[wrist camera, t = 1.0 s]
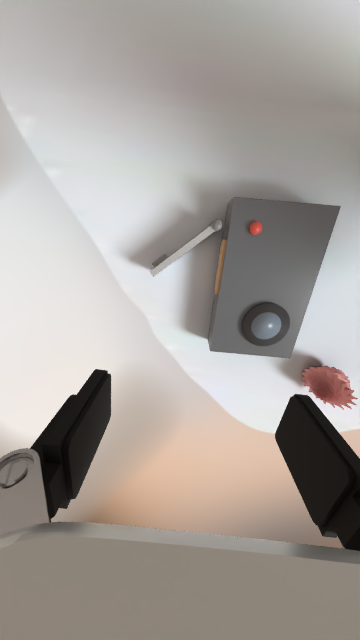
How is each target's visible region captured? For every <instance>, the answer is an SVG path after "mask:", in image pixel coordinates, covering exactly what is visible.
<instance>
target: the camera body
mask: <svg viewBox="0 0 360 640" xmlns="http://www.w3.org/2000/svg"><path fill="white" fill-rule="evenodd" d="M340 207H341V206H332V205H321V204H309V203H297V202H286V201H274V200H262V199H251V198H239V197H234V198H233V199H232V200H231V201H230V202H229V203H228V207H227V214H226V221H225V228H224V234H223V240H221V247H220V253H219V260H218V267H217V274H216V281H215V288H214V292H215V295H214V302H213V308H212V315H211V322H210V329H209V335H208V343H209V347H210V351H215V352H226V353H237V354H248V355H259V356H270V357H281V358H290V357H291V354H292V351H293V348H294V345H295V342H296V339H297V336H298V333H299V330H300V327H301V324H302V321H303V318H304V315H305V312H306V309H307V306H308V303H309V300H310V297H311V294H312V291H313V288H314V285H315V282H316V279H317V276H318V273H319V270H320V267H321V264H322V261H323V258H324V255H325V252H326V249H327V246H328V243H329V240H330V237H331V234H332V231H333V228H334V225H335V222H336V219H337V216H338V213H339V210H340Z"/></svg>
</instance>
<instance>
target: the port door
mask: <svg viewBox="0 0 360 640" xmlns="http://www.w3.org/2000/svg"><path fill="white" fill-rule="evenodd" d="M221 228H222V222H221V220H218V219H217V220H215V221H213V222H212V223H211V224H210V226H209V227H208V228H207V229H206V230H204V231H203V232H202V233H200V234H199V235H198V236H196V237H195V238H194V239H192V240H191V241H190V242H188V243H187V244H186V245H184V246H183V247H182V248H180V249H179V250H178V251H176V252H175V253H174V254H172V255H171V256H170V257H167V255H166V254H165V255H163V256H162V257H161V258H159V259H158V260H157V261H155V262H154V263H153V264H152V265H153V266H154V269H153V270H151V271H150V273H151V274H152V275H153V277H154V276H155V275H156V274H158V273H159V272H160V271H162V270H163V269H165V268H166V267H167V266H169V265H170V264H171V263H173V262H174V261H175V260H177V259H178V258H179V257H181V256H182V255H183V254H185V253H186V252H187V251H189V250H190V249H192V248H193V247H194V246H196V245H197V244H198V243H200V242H201V241H202V240H204V239H205V238H206V237H208V236H209V235H210V234H212V233H213V232H216V231H218V230H220V229H221Z"/></svg>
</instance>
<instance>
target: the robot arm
mask: <svg viewBox="0 0 360 640" xmlns="http://www.w3.org/2000/svg"><path fill="white" fill-rule="evenodd" d="M110 416H111V374H108V372H107V371H105V370H98V369H96V370H94V371H93V373H92V374H91V376H90V377H89V378H88V380H87V381H86V383H85V384H84V385H83V387H82V388H81V390H80V391H79V392H78V394H77V395H71V396H70V397H69V398H68V399H67V400H66V402H65V403H64V404H63V406H62V407H61V409H60V410H59V411H58V412H57V414H56V415H55V417H54V418H53V419H52V420H51V422H50V423H49V424H48V426H47V427H46V428H45V430H44V431H43V432H42V433H41V435H40V436H39V438H38V439H37V440H36V441H35V443H34V444H33V446H32V447H31V448H30V449H28V448H26V449H18V450H15V451H12V452H10V453H8V454H6V455H4V456H3V457H1V458H0V640H360V459H359V457H358V456H357V455H356V454H355V452H354V451H353V450H352V449H351V447H350V446H349V445H348V444H347V442H346V441H345V440H344V439H343V437H342V436H341V435H340V434H339V433H338V431H337V430H336V429H335V428H334V426H333V425H332V424H331V423H330V421H329V420H328V419H327V418H326V416H325V415H324V414H323V413H322V412H321V410H320V409H319V408H318V407H317V405H316V404H315V403H314V402H313V400H312V399H311V398H310V397H309V396H307V395H300V394H295V395H294V396H293V397H291V398H290V400H289V402H288V405H287V407H286V409H285V412H284V414H283V417H282V419H281V421H280V424H279V426H278V428H277V431H276V433H275V439H276V442H277V444H278V446H279V448H280V451H281V453H282V455H283V457H284V459H285V462H286V463H287V466H288V468H289V470H290V472H291V475H292V477H293V479H294V481H295V483H296V486H297V488H298V490H299V492H300V494H301V496H302V499H303V500H304V503H305V505H306V507H307V510H308V512H309V514H310V516H311V518H312V520H313V522H314V523H315V524H316V525H318V527H319V529H320V532H321V534H322V536H325V537H334V538H335V537H337V536H338V538H339V539H340V541H341V543H342V545H341V548H333V547H323V546H315V545H307V544H297V543H289V542H280V541H271V540H262V539H252V538H243V537H234V536H224V535H215V534H205V533H195V532H186V531H176V530H166V529H156V528H146V527H136V526H126V525H112V524H100V523H87V522H52V523H51V518H53V517H54V516H55V514H56V513H57V510H58V508H65V509H67V507H68V505H69V503H70V500H71V499H75V498H76V496H77V495H78V493H79V490H80V488H81V486H82V483H83V481H84V479H85V476H86V474H87V472H88V469H89V467H90V465H91V462H92V460H93V458H94V455H95V453H96V451H97V448H98V446H99V444H100V441H101V439H102V437H103V434H104V432H105V430H106V427H107V425H108V423H109V420H110Z"/></svg>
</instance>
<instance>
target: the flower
mask: <svg viewBox="0 0 360 640" xmlns="http://www.w3.org/2000/svg"><path fill="white" fill-rule="evenodd" d="M309 368H310V369H304V370H305V371H306V372H304V373H301V374H302V375H304V377H303V378H301V379H302V380H304V381H306V383H305V384H304V386H310V389H309V392H313V393H314V394H315V395H316V398H320V399H321V400H323V402H324V404H326V402H327V403H330V404H332V406H333V407H334V408H335V406H334V404H335V405H337V406H339V407H341V408H342V409H344V408H343V407H342V406H341V404H342V405H344V406H346V407H348V408H350V409H351V407H350V406H349V405H348V404H347V403H351V404H354V405H356V404H355V403H353V402H352V401H351V399H358V398H355V397H354V396H352V395H351V394H352V393H353V392H354V390H351V389H350V384H349V383H350V381H349V380H348V377H347V376H345V374H344V372H342V371H341V370H339V369H336V368H334V367H331V368H330V367H328V366H323V367H317V368H315V367H309Z"/></svg>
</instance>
